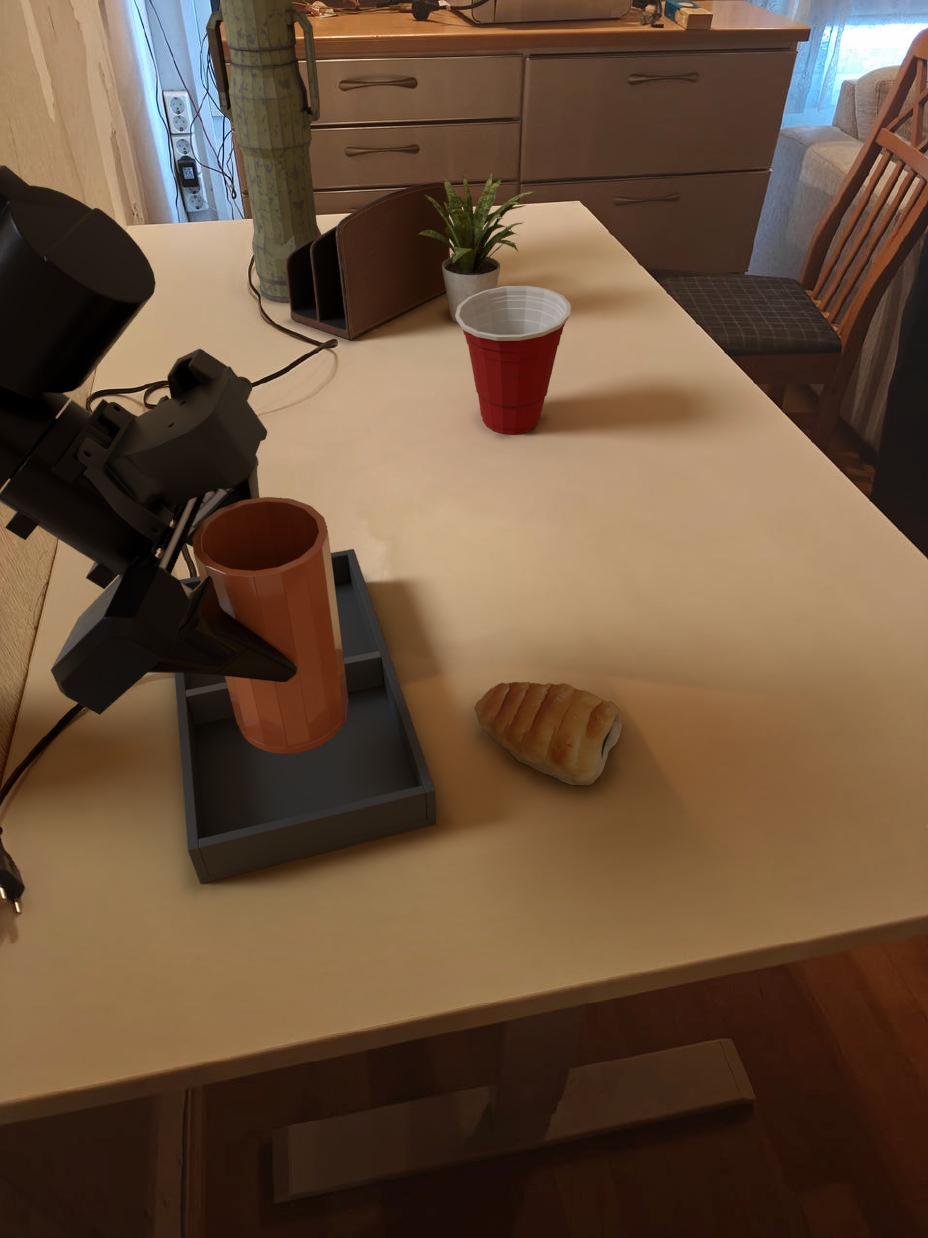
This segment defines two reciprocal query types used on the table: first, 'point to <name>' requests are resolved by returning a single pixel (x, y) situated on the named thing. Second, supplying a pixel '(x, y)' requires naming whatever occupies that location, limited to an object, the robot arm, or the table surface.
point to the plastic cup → (512, 351)
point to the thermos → (270, 125)
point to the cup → (280, 617)
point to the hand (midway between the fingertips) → (302, 630)
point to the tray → (303, 761)
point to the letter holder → (371, 264)
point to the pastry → (552, 727)
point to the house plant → (472, 241)
